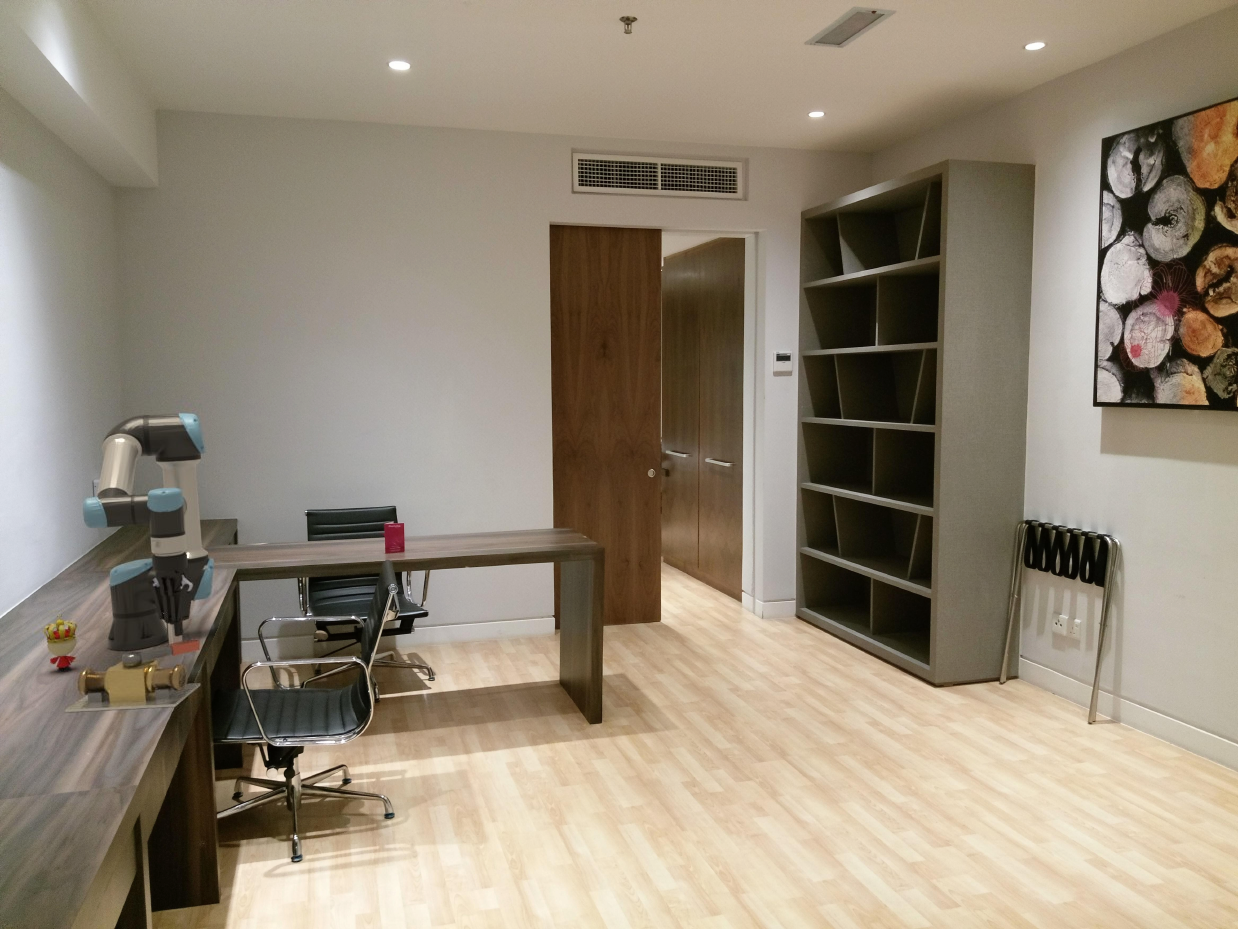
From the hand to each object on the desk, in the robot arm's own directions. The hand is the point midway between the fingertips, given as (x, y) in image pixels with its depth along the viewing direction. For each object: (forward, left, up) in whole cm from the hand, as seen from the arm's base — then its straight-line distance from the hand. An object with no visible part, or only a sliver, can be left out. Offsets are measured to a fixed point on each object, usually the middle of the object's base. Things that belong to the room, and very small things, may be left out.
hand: (176, 648), depth 213 cm
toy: (-15, -35, -9) cm, 39 cm away
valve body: (+9, -6, -9) cm, 14 cm away
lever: (+5, -2, -1) cm, 5 cm away
